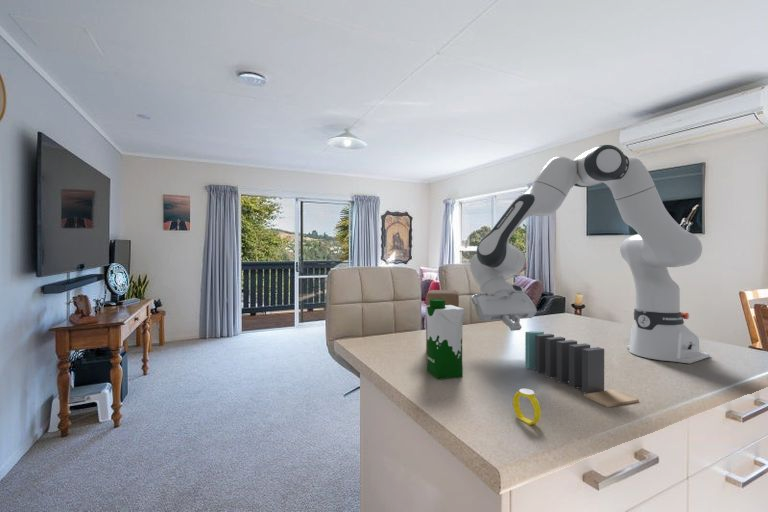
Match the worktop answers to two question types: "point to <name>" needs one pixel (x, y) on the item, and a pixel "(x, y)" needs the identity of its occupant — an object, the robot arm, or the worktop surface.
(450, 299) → the block
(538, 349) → the domino
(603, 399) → the coaster
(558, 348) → the domino
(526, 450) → the worktop surface
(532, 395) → the watch
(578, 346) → the domino
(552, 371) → the domino
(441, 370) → the milk carton
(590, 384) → the domino
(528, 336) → the domino
